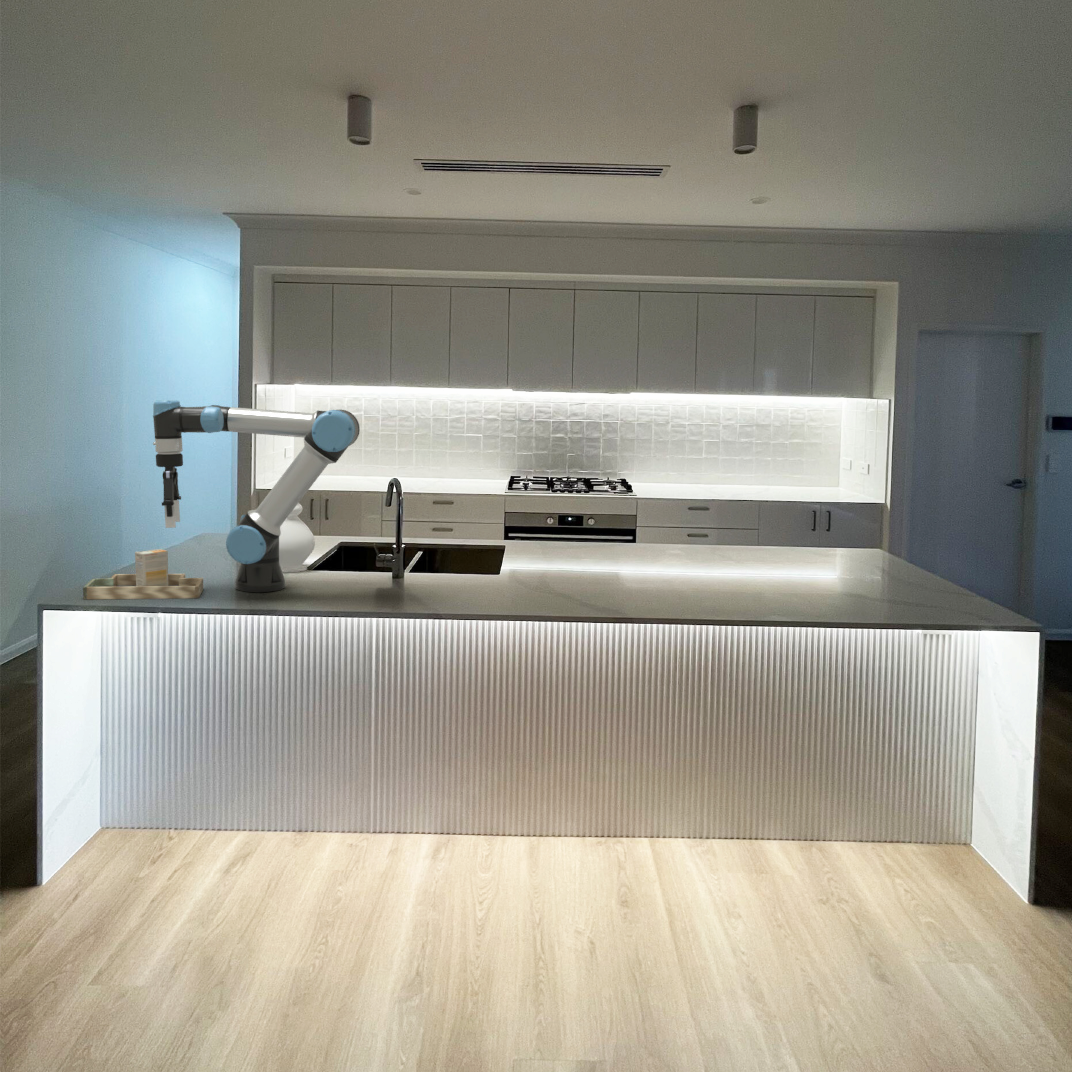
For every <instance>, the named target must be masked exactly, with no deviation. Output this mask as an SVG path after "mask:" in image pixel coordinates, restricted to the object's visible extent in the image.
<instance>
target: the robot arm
mask: <svg viewBox="0 0 1072 1072" xmlns="http://www.w3.org/2000/svg"><path fill="white" fill-rule="evenodd" d="M152 405H153V408H152V409H153V410H152V411H153V415H152V418H153V431H154V441H153V443H152V445H153V446H155V452H156V453H157V454H155V465H156V467H158V468H164V470H163V472H162V484H163V501H162V502H161V506H162V507H163V506H164V522H165V524H164V525H165V529H170V528H171V529H175V528H176V527H177V526H176V525H177V524H176V523H177V522H178V523H180V522H181V515H180V500H182V495H180V492H179V479H178V477H179V473H178V469H177V467H182V466H184V460H183V458H184V456H183V453H182V452H183V438H182V433H185V434H186V433H199V434H201V433H208V434H212V433H219V432H225V433H226V432H231V433H244V434H255V435H266V436H268V435H269V436H277V437H278V436H281V437H294V438H303V443H304V446H303V448H302V449H301V450H300V452H299V453H298V454H297V456H296V457H295V458H294V459H293V461H292V462H291V463H290V465H289V466H288V468H287V469H286V470H285V471H284V473H283V474H282V475H281V477H280V478H279V479H278V481H277V482H276V483H275V484H274V485H273V487H272V488H271V489H270V490H269V492H268V493H267V495H266V496H265V497H264V499H263V500H262V501H261V503H260V504H259V505H258V507H257V508H256V509H251V510H250V509H249V510H247V512H246V514H242V515H241V516H240V520H239V523H238V524H237V526H235V527H233V528H232V529H231V530H230V531H229V532H228V535H227V537H226V541H225V545H226V551H227V552H228V554H229V556H230V557H231V558H232V559H233V560H234V561H235V562H238V563H239V564H240V565H239V569H238V570H237V574H236V578H235V580H234V589H236V590H237V591H241V592H248V593H269V592H276V591H280V590H283V588H284V589H285V588H286V580H285V576H284V572H282V570H281V567H280V564H279V536H280V535H281V530H280V526H281V525H282V524H283V522H284V521H285V520H286V518H287V517H288V516H289V514H290V513H291V512H292V511H293V509H294V508H295V507H296V505H297V504H298V503H299V504H300V502H301V500H302V499H303V498H304V496H305V495H306V494H307V492H308V491H309V490H310V489H311V487H312V486H313V485H314V483H315V482H316V481H317V480H318V478H319V477H320V476H321V475H322V473H323V471H324V470H325V469H326V468H327V466H329V465H330V464H336V463H337V462H338V461H339V459H340V458H341V457H342V456H343V454H344V453H345V452H346V451H347V449H348V448H349V447H350V446H351V445H353V444H354V443H355V442H356V441H357V439H358V437H359V436H360V430H361V428H360V423H359V420H358V418H357V417H356V416H355V415H354V414H353V413H351V411H348V410H346V409H329V410H315V411H314V412H313V413H312V412H297V411H286V410H272V409H260V408H249V407H237V406H236V407H235V406H232V407H230V406H222V405H219V404H218V405H216V404H212V405H206V406H181V403H180V401H179V400H177V399H174V400H173V399H172V400H171V399H166V400H165V399H163V400H162V399H161V400H156V401H154V402H153V404H152Z"/></svg>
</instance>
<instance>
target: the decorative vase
mask: <svg viewBox="0 0 1072 1072" xmlns="http://www.w3.org/2000/svg"><path fill="white" fill-rule="evenodd" d="M303 509H304V508H303V505H301V503H300V502H299V503H298V504H297V505H296V507H295V508H294V509H293V511H292V512H291V513H290V514H289V516H288V517H287V518H286V520H285V521H284V522H283V524H282V525H281V526H280V530H281V535H280V536H279V564H280V567H281V570H282V573H300V571H301V572H305V571H307V570H308V566H306V565H303V564H304V563H305V562H306V561H307V559H308V558H309V557H310V556H311V554H312V553H313V551H314V550H315V548H316V547H315V546H316V541H315V540H316V539H315V536H314V533H313V532H312V530H311V529H310V527H308V525H307V524H306V523H305V522H304V521H303V520H302V519H301V518H300V517H299V515H300V514H301V513H302V512H303Z"/></svg>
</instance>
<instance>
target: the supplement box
mask: <svg viewBox="0 0 1072 1072" xmlns="http://www.w3.org/2000/svg"><path fill="white" fill-rule="evenodd" d="M168 554H169V552H168V550H165V549H161V548H157V549H148V550H142V551H141V550H140V551H135V552H134V557H135V558H134V560H135V574H136V586H168V574H169V562H168V561H169V560H168V559H169V556H168Z"/></svg>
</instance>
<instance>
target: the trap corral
mask: <svg viewBox="0 0 1072 1072" xmlns="http://www.w3.org/2000/svg"><path fill="white" fill-rule="evenodd" d="M82 588H83V589H82V593H83V594H82V595H83V600H147V599H148V600H150V599H151V600H152V599H154V600H155V599H157V600H158V599H159V600H160V599H161V600H163V599H166V600H167V599H199V598H200V596H201V594H202V593H203V590H204V577H186V573H168V586H136V573H130V574H128V573H118V574H117V573H116V574H115V573H114V574H113V575H112V576H111V577H109V578H107V577H106V578H92V579H91V580H89V581H88V582H87V583H86V584H85V585H84V586H83V587H82Z"/></svg>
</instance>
